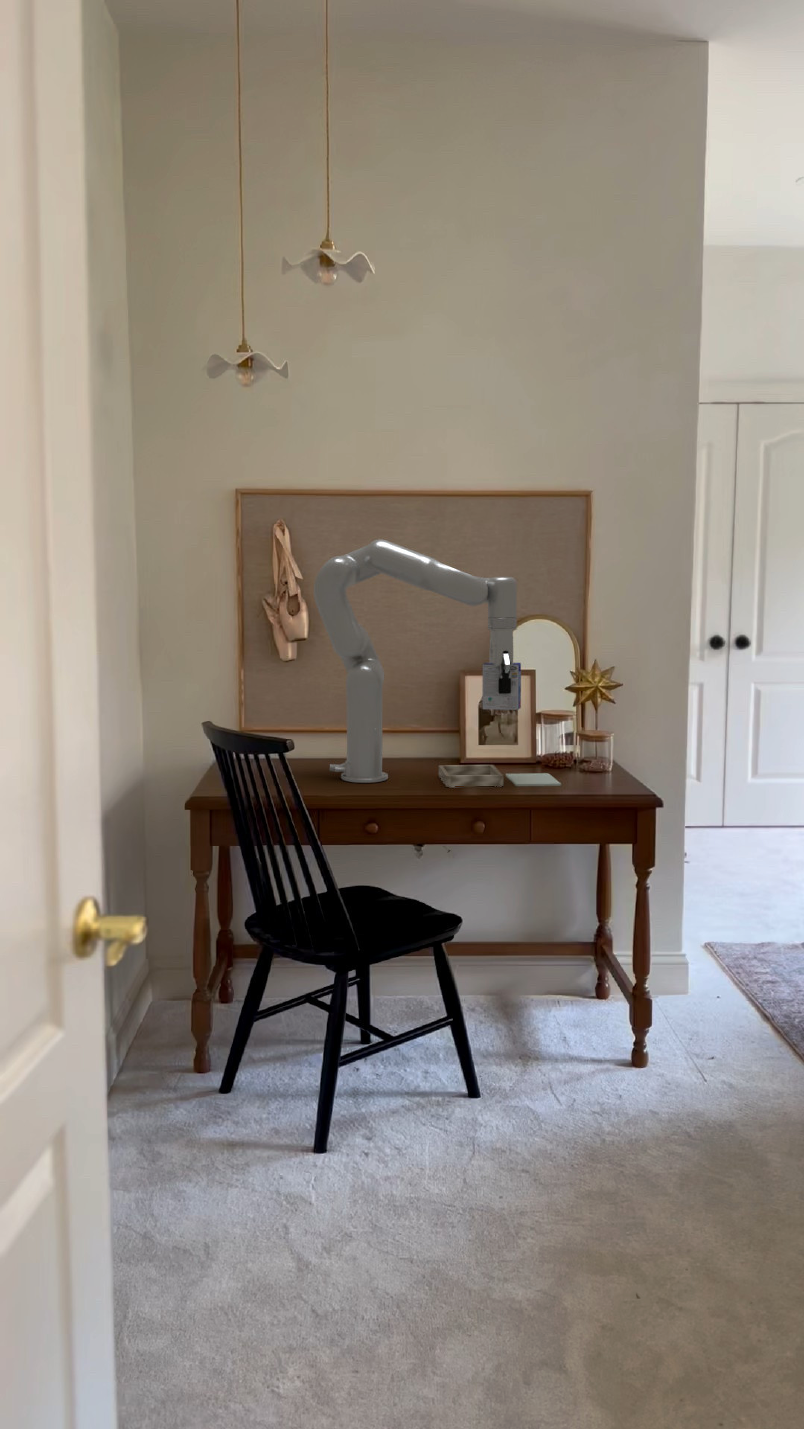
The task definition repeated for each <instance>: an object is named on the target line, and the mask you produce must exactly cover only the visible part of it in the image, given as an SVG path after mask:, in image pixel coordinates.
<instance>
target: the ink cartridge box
mask: <svg viewBox="0 0 804 1429" xmlns="http://www.w3.org/2000/svg"><path fill="white" fill-rule="evenodd" d="M510 665H511V663H510ZM501 666H504V665H501ZM510 667H511V666H510ZM521 667H522V663H521V662H513V666H512V667H511V668H510V673H511V693H510V694H499V692H498V690H499V678H500V674H499V666H497V668H494V667H493V664H492V663H489V662H484V663H483V664H482V710H498V711H499V710H501V711H503V710H505V711H518V710H520V709H521V707H522V705H521V704H522V698H521V697H522V668H521Z"/></svg>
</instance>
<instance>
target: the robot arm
mask: <svg viewBox="0 0 804 1429" xmlns="http://www.w3.org/2000/svg"><path fill="white" fill-rule="evenodd" d="M381 574H382V575H385V576H388V577H390V578H392V579H393V578H394V579H395V580H398V581H401V582H404V583H406V584H409V585H411V586H414V587H416V588H419V589H421V590H425V591H429V592H433V593H436V594H438V595H441V596H443V597H447V598H448V599H451V600H454V601H457V602H460V603H462V604H464V605H467V606H470V607H477V606H480V605H482V604H487V630H488V631H490V635H489V653H488V654H489V655H488V656H489V657H488V663H492V664H493V667H494V668H497V666H499V674H500V678H499V690H498V692H499V694H510V693H511V673H510V668H511V667H512V666H513V663H514V636H513V635H514V631H516V630H517V627H518V626H517V613H518V610H517V609H518V608H517V606H518V605H517V604H518V603H517V602H518V601H517V600H518V599H517V593H518V592H517V591H518V584H517V583H518V582H517V580H516V579H515V578H514V577H512V576H494V577H481V576H475V575H472V574H469V573H466V572H464V571H462V570H459V569H457V568H453V567H451V566H449V565H447V564H444V563H442V562H440V561H438V560H437V559H436V558H433V557H432V556H429V555H426V554H423V553H420V552H418V551H415V550H412V549H410V548H407V547H404V546H402V545H399V544H397V543H395V542H392V541H389V540H386V539H381V538H379V539H375V540H373V541H371V542H370V543H369V544H367V545H364V546H363V547H361V548H359V549H355V550H353V551H351V552H348V553H346V554H342V555H337V556H333V557H332V558H329V559H328V560H326V562H325V563H324V564H323V565H322V566H321V568H320V569H319V571H318V573H317V575H316V576H315V580H314V584H313V597H314V602H315V604H316V608H317V610H318V613H319V616H320V618H321V621H322V624H323V625H324V628H325V631H326V633H327V636H328V638H329V640H330V643H331V646H332V649H333V651H334V652H335V654H336V655H337V656H338V657H339V658H340V659H341V662H342V664H343V666H344V668H345V670H346V672H347V674H346V681H345V691H346V692H345V693H346V694H345V695H346V760H345V761H344V762H342V763H341V764H338V763H337V764H336V763H330V764H329V772H334V773H340V772H341V774H340V778H341V779H342V780H343V781H345V782H350V783H356V784H357V783H361V784H367V783H369V784H371V783H380V782H383V781H387V780H388V779H389V774H388V773H387V772H384V771H383V688H384V681H385V670H384V667H383V666H382V663H381V661H380V658H379V655H378V654H377V652H376V649H375V646H374V644H373V642H372V640H371V637H370V635H369V634H368V632H367V630H366V629H365V627H363V625H361V624H359V622H358V620H357V616H356V615H355V613H354V610H353V608H352V604H351V603H350V601H349V598H348V595H347V589H348V588H350V587H352V586H354V585H356V584H360V583H361V582H364V581H366V580H369V579H372V578H374V577H377V576H378V575H381ZM510 663H511V665H510ZM501 665H504V666H501ZM510 666H511V667H510Z"/></svg>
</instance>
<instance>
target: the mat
mask: <svg viewBox="0 0 804 1429" xmlns="http://www.w3.org/2000/svg"><path fill="white" fill-rule="evenodd" d="M505 777H506V778H507V779H508V780H509V781H510V782H511V783H512V784H513V785H514V786H515V787H562V783H561V782H560V781H559V780H557V779H556V778H555V777H554V776H552V775H551V774H550V773H548V772H547V773H546V772H543V773H539V772H538V773H505Z"/></svg>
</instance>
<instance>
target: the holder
mask: <svg viewBox="0 0 804 1429" xmlns="http://www.w3.org/2000/svg"><path fill="white" fill-rule="evenodd" d="M438 777H439V779H440V778H441V779H440V781H441V782H442V781H443V782H442V783H443V785H444V784H445V785H444V787H449V788H456V787H455V786H495V787H494V788H503V787H504V774H502V772H501V771H500V770H499V769H498V768H497V767H496V766H495V765H494V764H465V765H464V764H461V765H459V764H458V765H457V764H456V765H455V764H454V765H451V764H450V765H446V764H445V765H444V764H443V765H438ZM496 786H497V787H496ZM502 786H503V787H502Z"/></svg>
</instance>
